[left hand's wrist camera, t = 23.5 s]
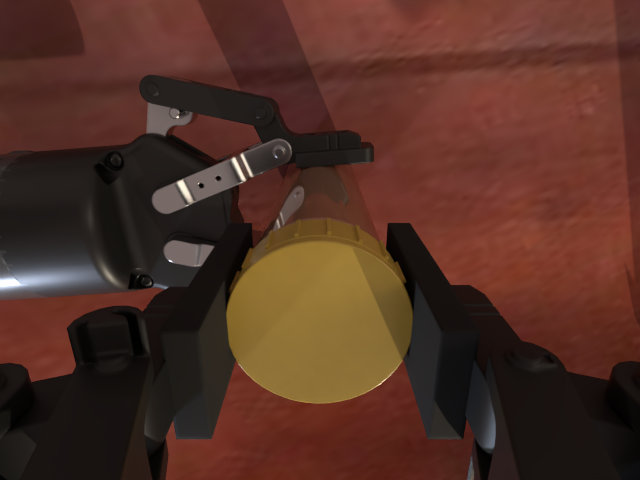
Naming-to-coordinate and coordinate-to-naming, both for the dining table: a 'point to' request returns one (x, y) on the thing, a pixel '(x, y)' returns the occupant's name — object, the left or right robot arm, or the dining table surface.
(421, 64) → the dining table surface
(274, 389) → the lid
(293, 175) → the jar
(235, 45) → the dining table surface
